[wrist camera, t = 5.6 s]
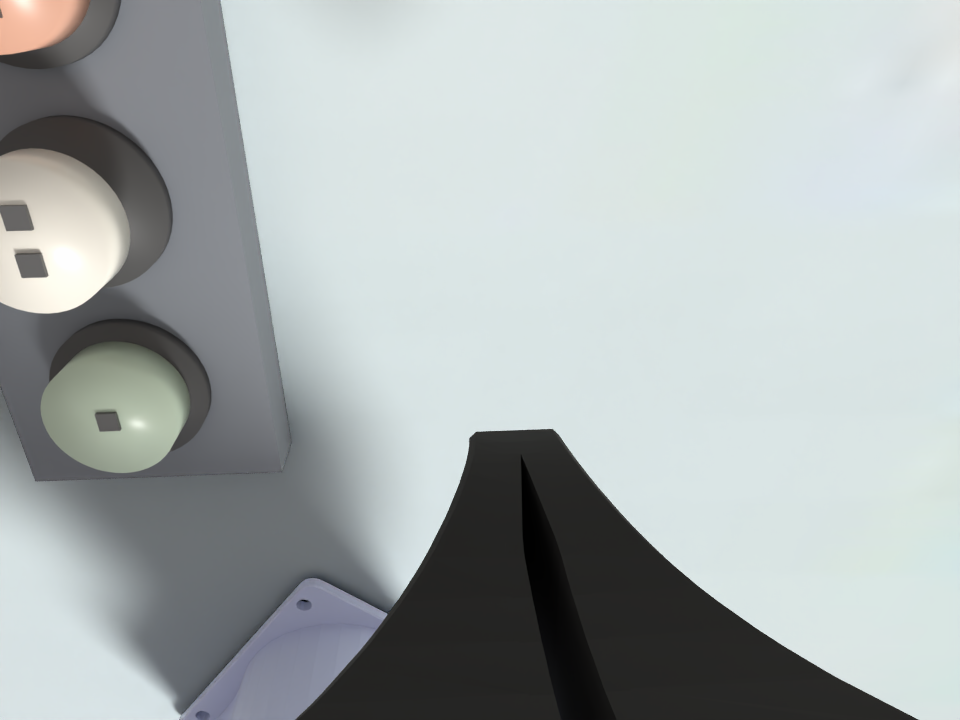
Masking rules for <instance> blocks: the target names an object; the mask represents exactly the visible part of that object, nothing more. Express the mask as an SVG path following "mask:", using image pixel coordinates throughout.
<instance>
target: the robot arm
mask: <svg viewBox="0 0 960 720" xmlns="http://www.w3.org/2000/svg"><path fill="white" fill-rule="evenodd" d="M303 599H305V600H308V601H310V602H304V601H301V600H303ZM179 720H918V719H916V718H914V717H912V716H910V715H908V714H906V713H904V712H902V711H900V710H898V709H896V708H895V707H893V706H891V705H889V704H887V703H885V702H883V701H881V700H879V699H877V698H875V697H873V696H871V695H869V694H867V693H865V692H863V691H862V690H860V689H858V688H856V687H854V686H852V685H850V684H848V683H846V682H844V681H842V680H840V679H838V678H836V677H835V676H833V675H831V674H829V673H828V672H826V671H824V670H822V669H821V668H819V667H817V666H816V665H814V664H812V663H811V662H809V661H807V660H806V659H804V658H802V657H801V656H799V655H797V654H796V653H794V652H792V651H791V650H789V649H787V648H786V647H784V646H782V645H781V644H779V643H778V642H776V641H775V640H773V639H772V638H770V637H768V636H767V635H765V634H764V633H762V632H761V631H759V630H758V629H756V628H755V627H753V626H752V625H750V624H749V623H748V622H746V621H745V620H743V619H742V618H741V617H739V616H738V615H736V614H735V613H734V612H732V611H731V610H729V609H728V608H726V607H725V606H724V605H722V604H721V603H719V602H718V601H717V600H715V599H714V598H713V597H711V596H710V595H709V594H708V593H706V592H705V591H704V590H702V589H701V588H700V587H698V586H697V585H696V584H695V583H694V582H692V581H691V580H690V579H689V578H688V577H686V576H685V575H684V574H683V573H682V572H680V571H679V570H678V569H677V568H676V567H675V566H673V565H672V564H671V563H670V562H669V561H668V560H667V559H666V558H665V557H664V556H663V555H661V554H660V553H659V552H658V551H657V550H656V549H655V548H654V547H653V546H652V545H651V544H650V543H649V542H648V541H647V540H646V539H645V538H644V537H643V536H642V535H641V534H640V533H639V532H638V531H637V530H636V529H635V528H634V527H633V526H632V525H631V524H630V523H629V522H628V521H627V519H626V518H625V517H624V516H623V515H622V514H621V513H620V512H619V511H618V510H617V509H616V507H615V506H614V505H613V504H612V503H611V502H610V501H609V499H608V498H607V497H606V496H605V495H604V494H603V492H602V491H601V490H600V489H599V488H598V487H597V485H596V484H595V483H594V482H593V481H592V479H591V478H590V477H589V476H588V474H587V473H586V472H585V470H584V469H583V468H582V467H581V465H580V464H579V463H578V461H577V460H576V459H575V457H574V456H573V455H572V453H571V452H570V451H569V449H568V448H567V446H566V445H565V443H564V442H563V440H562V439H561V438H560V436H559V435H558V434H557V433H556V432H555V431H554V430H553V429H541V430H514V431H486V432H476V433H475V434H474V435H472V436H471V437H470V438H469V451H468V456H467V461H466V464H465V468H464V471H463V474H462V477H461V480H460V483H459V486H458V488H457V491H456V493H455V496H454V498H453V501H452V503H451V506H450V508H449V511H448V513H447V515H446V517H445V519H444V521H443V523H442V525H441V527H440V529H439V531H438V533H437V535H436V537H435V539H434V541H433V543H432V545H431V547H430V549H429V551H428V553H427V554H426V556H425V558H424V560H423V561H422V563H421V565H420V567H419V568H418V570H417V572H416V573H415V575H414V577H413V578H412V580H411V581H410V583H409V584H408V586H407V587H406V589H405V591H404V592H403V594H402V595H401V597H400V598H399V600H398V601H397V602H396V604H395V605H394V606H393V608H392V609H391V611H390V612H389V613H388V614H387V613H385V612H383V611H381V610H379V609H377V608H375V607H373V606H371V605H369V604H367V603H366V602H364V601H362V600H360V599H358V598H356V597H354V596H352V595H350V594H348V593H346V592H344V591H342V590H340V589H338V588H336V587H334V586H332V585H330V584H328V583H327V582H325V581H323V580H320V579H317V578H309V579H305V580H304V581H302V582H301V583H300V584H299V585H298V586H297V587H296V589H295V590H294V591H293V592H292V593H291V594H290V595H289V596H288V597H287V599H286V600H285V601H284V602H283V603H282V604H281V605H280V606H279V607H278V609H277V610H276V611H275V612H274V613H273V614H272V615H271V616H270V617H269V619H268V620H267V621H266V622H265V623H264V624H263V625H262V626H261V628H260V629H259V630H258V631H257V632H256V633H255V634H254V635H253V636H252V638H251V639H250V640H249V641H248V642H247V643H246V644H245V645H244V646H243V648H242V649H241V650H240V651H239V652H238V653H237V654H236V655H235V656H234V658H233V659H232V660H231V661H230V662H229V663H228V664H227V665H226V667H225V668H224V669H223V670H222V671H221V672H220V673H219V674H218V675H217V677H216V678H215V679H214V680H213V681H212V682H211V683H210V684H209V685H208V687H207V688H206V689H205V690H204V691H203V692H202V693H201V694H200V695H199V697H198V698H197V699H196V700H195V701H194V702H193V703H192V704H191V706H190V707H189V708H188V709H187V710H186V711H185V712H184V713H183V714H182V716H181V717H180V719H179Z"/></svg>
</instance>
